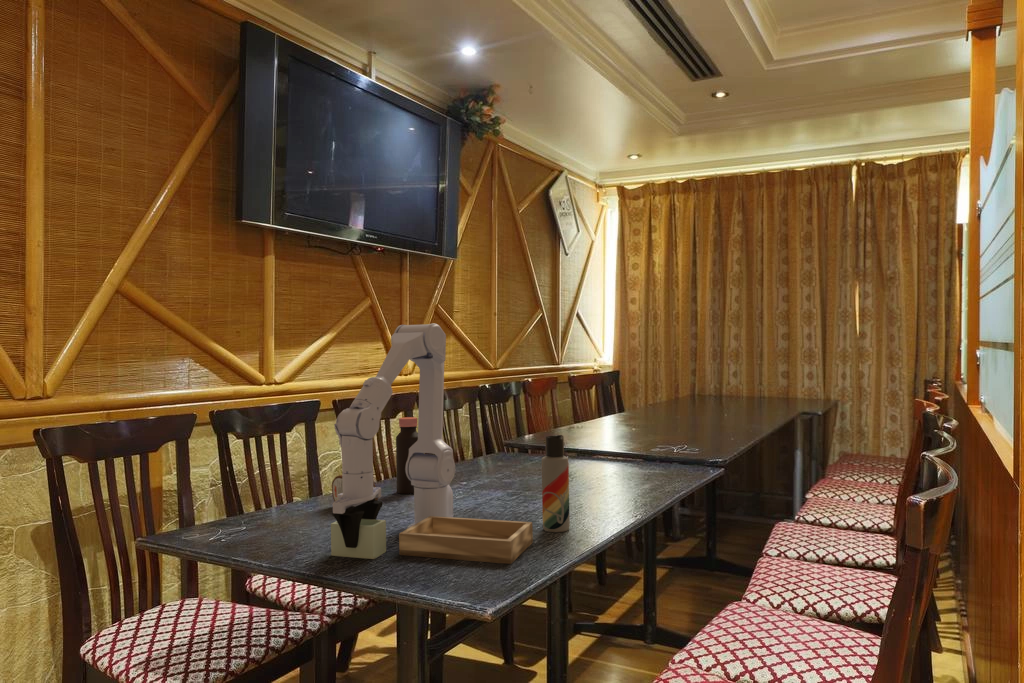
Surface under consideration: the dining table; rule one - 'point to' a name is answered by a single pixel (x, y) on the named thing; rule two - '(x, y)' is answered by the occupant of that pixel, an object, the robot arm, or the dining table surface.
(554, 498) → the lotion bottle
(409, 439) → the vinegar
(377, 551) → the small crate
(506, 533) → the pine crate
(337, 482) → the tin
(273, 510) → the dining table surface
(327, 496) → the dining table surface
